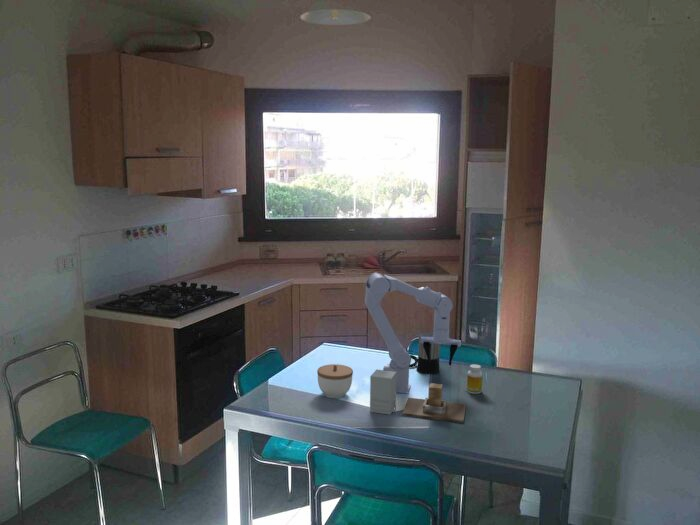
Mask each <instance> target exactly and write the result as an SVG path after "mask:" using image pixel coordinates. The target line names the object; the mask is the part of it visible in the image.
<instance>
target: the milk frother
mask: <svg viewBox="0 0 700 525" xmlns="http://www.w3.org/2000/svg"><path fill="white" fill-rule="evenodd" d="M417 336H418V353H417V356H415V355H413V354H409V355H410V356H411V360H413V361H414V362H413V363H410V365H409V368H413V367H416V366H417V367H416V371H417V372H418V373H421V374H422V375H437V374H439V373H440V356H441V354H440V352H441V344H431V352H430V354H431V360H430V363H428V359H427V355H426V352H425V349H424V347H423V344H424V343H421V337H433V332H432V331H431V332H420V333H418V335H417Z"/></svg>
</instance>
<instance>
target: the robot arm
mask: <svg viewBox="0 0 700 525" xmlns="http://www.w3.org/2000/svg"><path fill="white" fill-rule="evenodd" d="M395 291H399V292H400V293H404V294H407V295H409V296H411V297H414V298H415V300H416V302H418V303H420V304H422V305H425V306H427V307H430V308H434V314H433V329H432V330H433V332H432V333H433V337H421V343H424V344H423V347H424V349H425V352H426V355H427V359H428V363H430V360H431V354H430V352H431V344H440V346H441V345H442V346H443V345H444V346H450V347H449V360H448V365H449V366H451V365H452V362H453V357H454V355H455V353H456V351H457V350H458V347H459V348H460V347H461V345H462V340H460V339H454V338H450V323H451V321H450V320H451V315H450V314H451V311H452V310H453V308H454V304H453V302H452V299H451V298H449V297H448V296H446V295H445V294H443V293H442V292H440V291H438V292H437V291H434V290H432V289H431V288H430V287H428V286H425V287H424V286H421V287H415V286H413V285H411V284H410V283H407V282H404V281H402V280H400V279H398V278H396V277H393V276H390V275H387V274H381V273H380V272H373V273H371V274H370V275H369V276H368V278H367V280H366V282H365V294H364V304H365V306H366V308H367V310H368V313H369V314H370V316H371V318H372V320H373V322H374V323H375V326H376V327H377V329H378V331H379V333H380V335H381V337H382V338H383V341H384V342H385V344H386V347H387V349H388V357H389V358H390V359H391V360H390V362H389V364H388V363H387V364H384V365H383V368H382V370H385V371H393V372H396V393H397V394H398V393H399V394H409V391H410V389H411V387H412V385H411V384H409V381H410V380H409V378H410V367H409V365H410V364H412V363H411V362H412V358H411V356H410V355H411V354H410V353H409V352H407V351H406V348H405V347H404V346H403V345H402V344H401V343H400V340H399V338H398V337H397V334H396V333H395V331H394V329H393V328H392V325H391V322H389V319H388V318H387V316H386V313H385V312H384V310H383V308H382V306H381V301H382V299H383V298H384V296H386V294H387V293H388V292H390V293H392V292H395Z"/></svg>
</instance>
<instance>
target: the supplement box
mask: <svg viewBox="0 0 700 525" xmlns="http://www.w3.org/2000/svg"><path fill="white" fill-rule="evenodd" d="M369 382H370V388H369V389H370V390H369V392H370V393H369V394H370V395H369V412H371V413H377V414H382V415H383V414H385V415H391V414H392V413H393V412H394V410H395V409H396V407H397V406H396V405H397V404H396V403H397V392H396V372H393V371H385V370H383V369H378V368H377V369H375V371H373V373H371V375H370V381H369ZM394 408H395V409H394Z"/></svg>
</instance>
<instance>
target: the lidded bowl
mask: <svg viewBox="0 0 700 525" xmlns="http://www.w3.org/2000/svg"><path fill="white" fill-rule="evenodd" d="M316 373H317V382H318V384H317V385H318V387H319V390H320V391H321V392H322V393H323V394H324V396H325V397H326V398H330V399H340V398H343V397H344V396H345V395H346V394H347V393H348V392H349V391H350V389H351V387H352V382H353V374H354V370H353V368H352V367H351V366H348V365H344V364H338V363H337V364H335V363H332V364H325V365H321V366H320V367H318V368H317V371H316Z"/></svg>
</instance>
